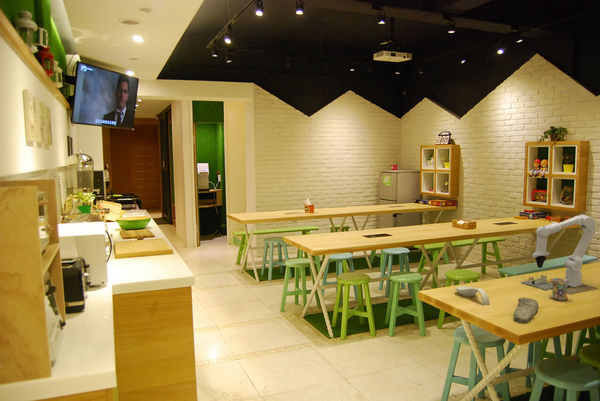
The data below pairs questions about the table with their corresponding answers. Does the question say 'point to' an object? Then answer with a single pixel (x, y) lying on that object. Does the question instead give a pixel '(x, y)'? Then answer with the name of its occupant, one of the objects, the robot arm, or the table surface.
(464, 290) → the spoon rest
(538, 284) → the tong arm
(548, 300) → the table surface
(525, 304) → the elongated rock
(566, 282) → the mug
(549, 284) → the mat
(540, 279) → the base
